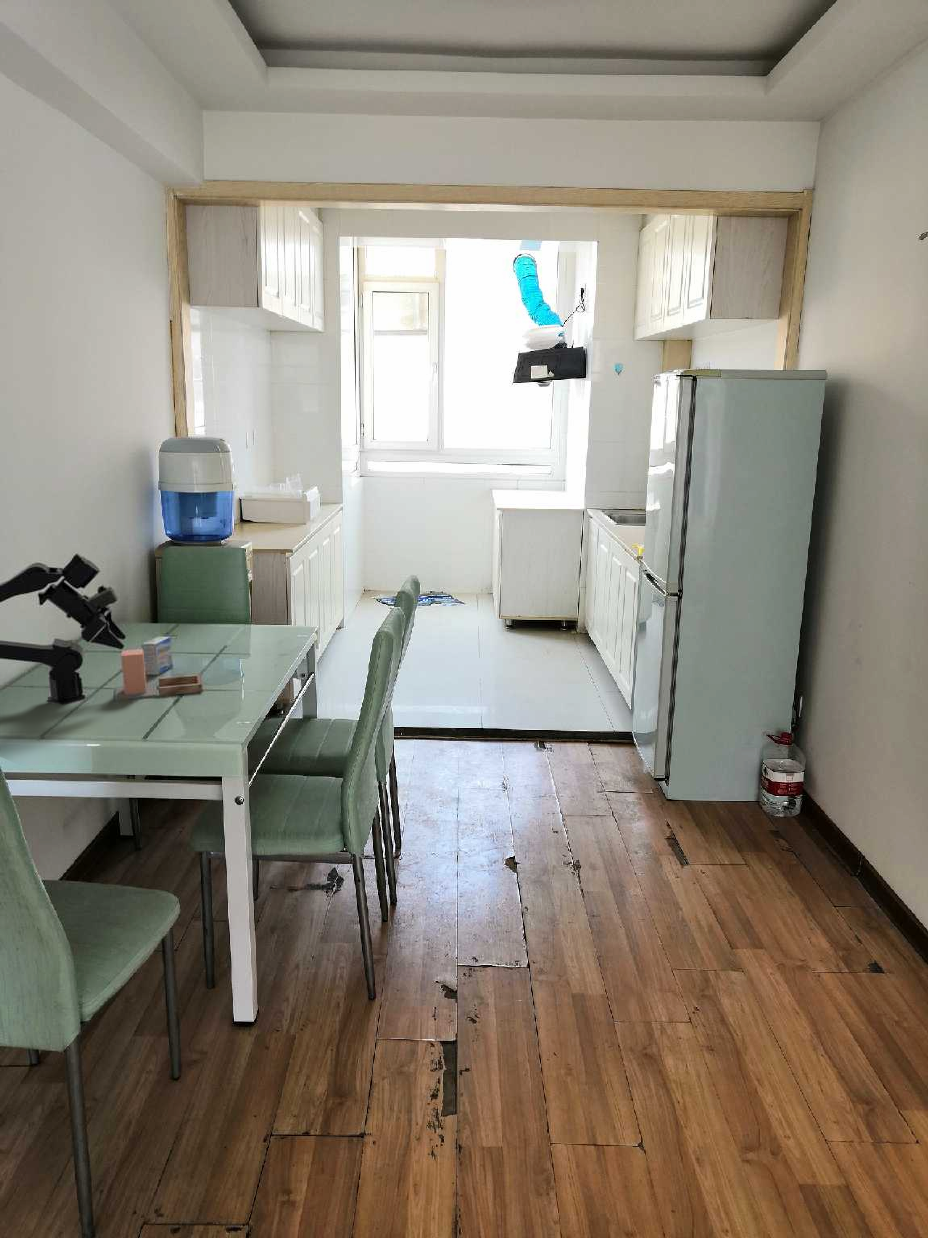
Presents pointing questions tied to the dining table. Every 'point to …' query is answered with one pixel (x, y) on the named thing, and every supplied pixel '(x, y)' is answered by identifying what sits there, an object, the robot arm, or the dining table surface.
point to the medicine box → (157, 655)
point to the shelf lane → (180, 688)
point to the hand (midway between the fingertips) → (123, 642)
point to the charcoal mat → (150, 692)
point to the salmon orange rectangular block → (133, 671)
